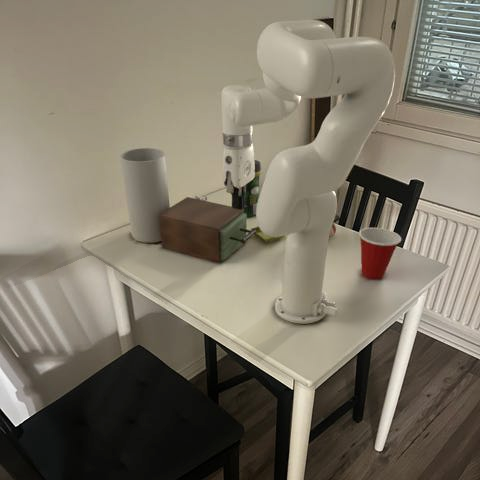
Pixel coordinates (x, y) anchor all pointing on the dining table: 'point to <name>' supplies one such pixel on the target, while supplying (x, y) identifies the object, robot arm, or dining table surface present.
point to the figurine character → (333, 228)
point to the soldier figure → (201, 198)
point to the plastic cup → (377, 251)
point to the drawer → (234, 236)
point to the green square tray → (263, 236)
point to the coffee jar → (252, 192)
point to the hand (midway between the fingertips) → (238, 207)
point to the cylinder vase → (145, 191)
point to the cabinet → (196, 227)
